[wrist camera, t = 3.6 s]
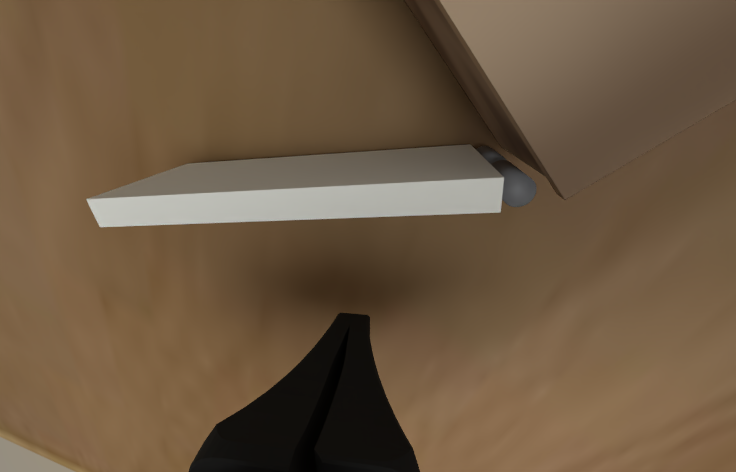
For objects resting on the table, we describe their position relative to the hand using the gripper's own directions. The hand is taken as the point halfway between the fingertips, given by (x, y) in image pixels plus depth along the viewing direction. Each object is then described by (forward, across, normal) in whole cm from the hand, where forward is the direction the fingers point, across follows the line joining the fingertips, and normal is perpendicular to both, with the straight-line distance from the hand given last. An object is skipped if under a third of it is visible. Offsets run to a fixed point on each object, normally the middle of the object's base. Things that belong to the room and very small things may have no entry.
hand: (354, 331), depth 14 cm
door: (+3, +1, -6) cm, 7 cm away
